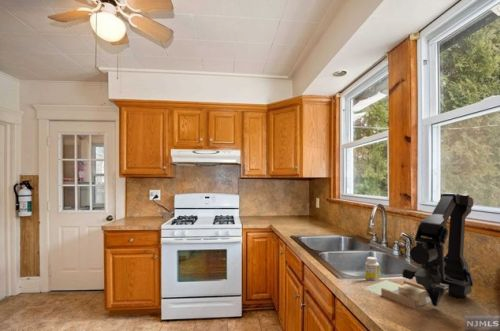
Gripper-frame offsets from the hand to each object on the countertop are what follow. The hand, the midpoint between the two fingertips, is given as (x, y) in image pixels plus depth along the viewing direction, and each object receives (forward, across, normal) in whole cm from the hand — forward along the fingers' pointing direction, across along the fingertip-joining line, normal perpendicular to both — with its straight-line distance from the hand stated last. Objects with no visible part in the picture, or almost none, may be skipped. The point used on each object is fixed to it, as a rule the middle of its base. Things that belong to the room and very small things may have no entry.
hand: (435, 306), depth 90 cm
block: (+1, -8, 0) cm, 8 cm away
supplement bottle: (+2, -28, +7) cm, 29 cm away
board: (+2, -14, +2) cm, 14 cm away
